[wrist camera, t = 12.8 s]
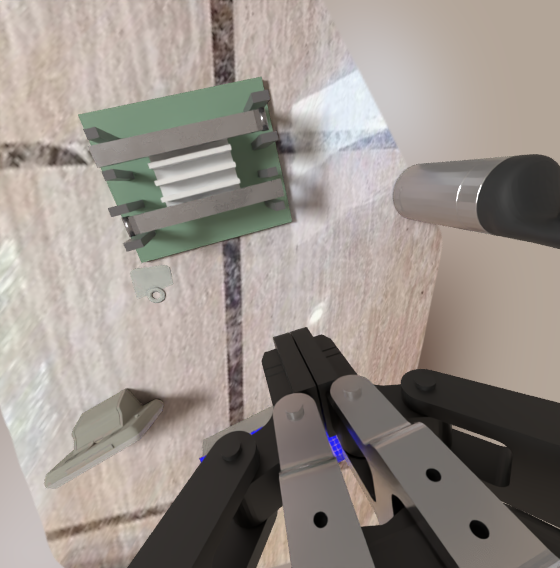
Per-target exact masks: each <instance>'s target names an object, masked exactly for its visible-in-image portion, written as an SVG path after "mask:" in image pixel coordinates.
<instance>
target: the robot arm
mask: <svg viewBox="0 0 560 568" xmlns="http://www.w3.org/2000/svg"><path fill="white" fill-rule="evenodd" d="M393 201H394V205H395V208H396V210H397V211H398V213H399V214H400V215H402V216H403V217H405V218H407V219H413V220H418V221H422V222H427V223H432V224H438V225H443V226H449V227H454V228H459V229H464V230H469V231H475V232H480V233H486V234H491V235H496V236H502V237H508V238H513V239H517V240H522V241H527V242H533V243H537V244H541V245H545V246H550V247H553V248H557V249H560V166H559V165H558V163H557V162H556V161H554V160H553V159H552V158H550V157H547V156H544V155H538V154H533V155H519V156H509V157H496V158H486V159H474V160H462V161H450V162H438V163H424V164H416V165H413V166H411V167H409V168H407V169H406V170H405V171H404V172H403V173H402V174H401V175H400V177H399V178H398V180H397V182H396V184H395V187H394V192H393ZM273 340H274V344H275V348H276V349H274V350H271V351H268V352H265V353H264V355H263V358H262V365H263V369H264V373H265V377H266V380H267V384H268V388H269V392H270V396H271V400H272V403H273V413H272V416H271V418H270V420H269V421H268V422H267V424H266V425H265V426H263V427H262V428H261V429H260V430H258V431H257V432H255V433H254V434H252V435H251V434H250V433H248V432H245V431H233V432H230V433H227V434H225V435H224V436H222V437H221V438H220V439H218V440H217V441H216V442H215V444H214V445H213V446H212V448H211V449H210V451H209V452H208V453H207V455H206V456H205V458H204V459H203V461H202V462H201V463H200V465H199V466H198V468H197V469H196V470H195V472H194V473H193V475H192V476H191V478H190V479H189V480H188V482H187V483H186V485H185V486H184V488H183V489H182V490H181V492H180V493H179V495H178V496H177V498H176V499H175V500H174V502H173V503H172V505H171V506H170V508H169V509H168V510H167V512H166V513H165V515H164V516H163V518H162V519H161V520H160V522H159V523H158V525H157V526H156V528H155V529H154V530H153V532H152V533H151V535H150V536H149V538H148V539H147V540H146V542H145V543H144V545H143V546H142V547H141V549H140V550H139V552H138V553H137V555H136V556H135V557H134V559H133V560H132V562H131V563H130V565H129V566H128V567H127V568H256V567H257V564H258V562H259V559H260V557H261V555H262V552H263V550H264V547H265V545H266V542H267V540H268V537H269V535H270V532H271V530H272V528H273V525H274V523H275V520H276V517H277V510H278V509H279V508H280V507H282V506H283V510H284V518H285V525H286V532H287V539H288V547H289V554H290V561H291V568H560V529H558V528H556V527H559V528H560V403H557V402H554V401H550V400H545V399H541V398H538V397H534V396H530V395H526V394H522V393H518V392H514V391H510V390H506V389H503V388H498V387H495V386H491V385H487V384H483V383H479V382H475V381H471V380H467V379H463V378H460V377H455V376H451V375H448V374H443V373H440V372H436V371H432V370H427V369H416V370H412V371H409V372H407V373H406V374H405V375H404V376H403V377H402V379H401V384H399V385H385V386H381V385H374V384H372V382H371V381H369V380H368V379H367V378H365V377H363V376H359V375H357V373H356V372H355V371H354V369H353V368H352V367H351V365H350V364H349V363H348V361H347V360H346V359H345V357H344V356H343V355H342V354H341V352H340V351H339V349H338V348H337V347H336V345H335V344H334V342H333V341H332V340H331V339H330V338H328V337H326V336H324V335H322V334H321V335H318V336H315V337H313V336H312V334H311V333H310V331H309V330H308V328H307V327H305V328H301V329H298V330H295V331H292V332H290V333H285V334H282V335H279V336H276V337H273ZM452 425H455V426H457V427H460V428H463V429H466V430H468V431H471V432H474V433H477V434H480V435H483V436H486V437H488V438H491V439H494V440H497V441H499V442H501V443H503V444H504V445H506V446H507V447H503V446H499V445H496V444H493V443H491V442H488V441H485V440H483V439H480V438H477V437H474V436H471V435H469V434H466V433H463V432H460V431H457V430H455V429H452ZM326 432H327V434H328V436H329V438H330V437H333V436H335V435H337V437H338V439H339V441H340V444H341V449H342V453H343V456H344V458H345V460H346V462H347V464H348V465H349V467H350V469H351V471H352V472H353V474H354V476H355V478H356V480H357V481H358V483H359V485H360V487H361V488H362V490H363V492H364V494H365V495H366V497H367V499H368V501H369V502H370V504H371V506H372V508H373V510H374V512H375V514H376V516H377V518H378V521H379V524H380V525H376V526H363V527H361V526H360V523H359V521H358V518H357V515H356V512H355V509H354V506H353V503H352V501H351V498H350V495H349V492H348V489H347V486H346V484H345V481H344V478H343V475H342V472H341V469H340V466H339V464H338V461H337V459H336V457H335V456H334V455H333V453H332V450H331V447H330V444H329V441H328V438H327V434H326ZM501 501H502V502H504V503H502V502H501ZM505 503H506V504H505ZM507 504H509V505H507ZM510 505H511V506H510ZM521 510H522V511H521ZM523 511H524V512H523ZM532 515H533V516H532ZM534 516H535V517H534ZM536 517H537V518H536ZM538 518H539V519H538ZM540 519H541V520H540ZM542 520H543V521H542ZM544 521H546V522H548V523H550V524H552V525H554V526H556V527H554V526H552V525H550V524H548V523H546V522H544Z"/></svg>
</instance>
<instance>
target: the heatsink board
mask: <svg viewBox="0 0 560 568" xmlns="http://www.w3.org/2000/svg"><path fill="white" fill-rule="evenodd" d="M269 100H270V96H269V92H268V89H267V90H264V87H263V82H262V77H257V78H253V79H248V80H243V81H238V82H233V83H229V84H224V85H219V86H214V87H209V88H204V89H200V90H195V91H190V92H185V93H180V94H176V95H171V96H166V97H161V98H156V99H152V100H147V101H142V102H137V103H132V104H127V105H123V106H118V107H113V108H108V109H103V110H99V111H94V112H89V113H84V114H79V115H78V116H79V118H80V121H81V123H82V125H83V128H84V129H83V130H84V132H85V134H86V137H87V139H88V140H89V142H90V144H91V145H96V144H101V143H105V142H110V141H114V140H119V139H123V138H128V137H133V136H137V135H142V134H146V133H151V132H155V131H160V130H165V129H169V128H174V127H178V126H183V125H187V124H192V123H197V122H201V121H206V120H210V119H215V118H219V117H224V116H229V115H233V114H238V113H242V112H247V111H251V110H257V109H258V108H260V107H264V108H265V113H266V117H267V122H268V126H269V130H267V131H263V132H262V131H258V132H255V133H250V134H246V135H242V136H237V137H233V138H228V139H224V140H220V141H215V142H211V143H207V144H202V145H198V146H194V147H189V148H185V149H181V150H176V151H172V152H167V153H163V154H159V155H154V156H150V157H146V158H141V159H137V160H133V161H128V162H124V163H120V164H115V165H111V166H106V167H102V168H101V170H102V171H101V172H102V174H103V176H104V179H105V181H107V184H108V186H109V188H110V191H111V193H112V195H113V198H114V200H115V202H116V204H117V206H115V207H111V208H108V210H109V212H110V214H111V217H114V216H118V215H121V216H122V217H126V216H134V215H137V214H141V213H145V212H149V211H153V210H157V209H161V208H165V207H169V206H173V205H177V204H181V203H185V202H189V201H193V200H196V199H200V198H204V197H208V196H212V195H216V194H220V193H224V192H228V191H232V190H236V189H240V188H244V187H248V186H252V185H256V184H259V183H263V182H267V181H271V180H275V179H279V178H281V182H282V187H283V191H284V196H282V197H279V198H275V199H271V200H267V201H263V202H259V203H256V204H252V205H248V206H244V207H240V208H237V209H233V210H229V211H225V212H221V213H218V214H214V215H210V216H206V217H202V218H199V219H195V220H191V221H187V222H183V223H179V224H176V225H172V226H168V227H164V228H160V229H157V230H153V231H149V232H145V233H141V234H137V235H136V236H133V237H131V239H129V240H128V241H126V242H125V243H124V246H125V248H126V251H131V250H135V249H136V251H137V253H138V256H139V258H140V260H141V263H143V262H147V261H150V260H154V259H158V258H161V257H165V256H169V255H172V254H176V253H179V252H183V251H187V250H190V249H194V248H198V247H201V246H205V245H209V244H212V243H216V242H220V241H223V240H227V239H230V238H234V237H238V236H241V235H245V234H249V233H252V232H256V231H260V230H263V229H267V228H271V227H274V226H278V225H281V224H285V223H289V222H292V219H291V214H290V209H289V205H288V200H287V195H286V190H285V186H284V181H283V176H282V172H281V167H280V162H279V157H278V153H277V148H276V143H275V142H276V141H277V140H278V135H277V130H276V131H273V129H272V124H271V120H270V115H269V110H268V106H267V103H268V102H269Z"/></svg>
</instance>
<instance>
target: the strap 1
mask: <svg viewBox="0 0 560 568" xmlns="http://www.w3.org/2000/svg"><path fill="white" fill-rule="evenodd" d="M267 130H269V126H268V122H267V117H266V113H265V108H264V107H260V108H258V109H257V110H251V111H247V112H242V113H238V114H233V115H229V116H224V117H219V118H215V119H210V120H206V121H201V122H197V123H192V124H187V125H183V126H178V127H174V128H169V129H165V130H160V131H155V132H151V133H146V134H142V135H137V136H133V137H128V138H123V139H119V140H114V141H110V142H105V143H101V144H96V145H91V146H88V147H89V149H90V152H91V154H92V156H93V159H94V161H95V163H96V166H97V168H102V167H106V166H111V165H115V164H120V163H124V162H128V161H133V160H137V159H141V158H146V157H150V156H154V155H159V154H163V153H167V152H172V151H176V150H181V149H185V148H189V147H194V146H198V145H202V144H207V143H211V142H215V141H220V140H224V139H228V138H233V137H237V136H242V135H246V134H250V133H255V132H258V131H262V132H263V131H267Z"/></svg>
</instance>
